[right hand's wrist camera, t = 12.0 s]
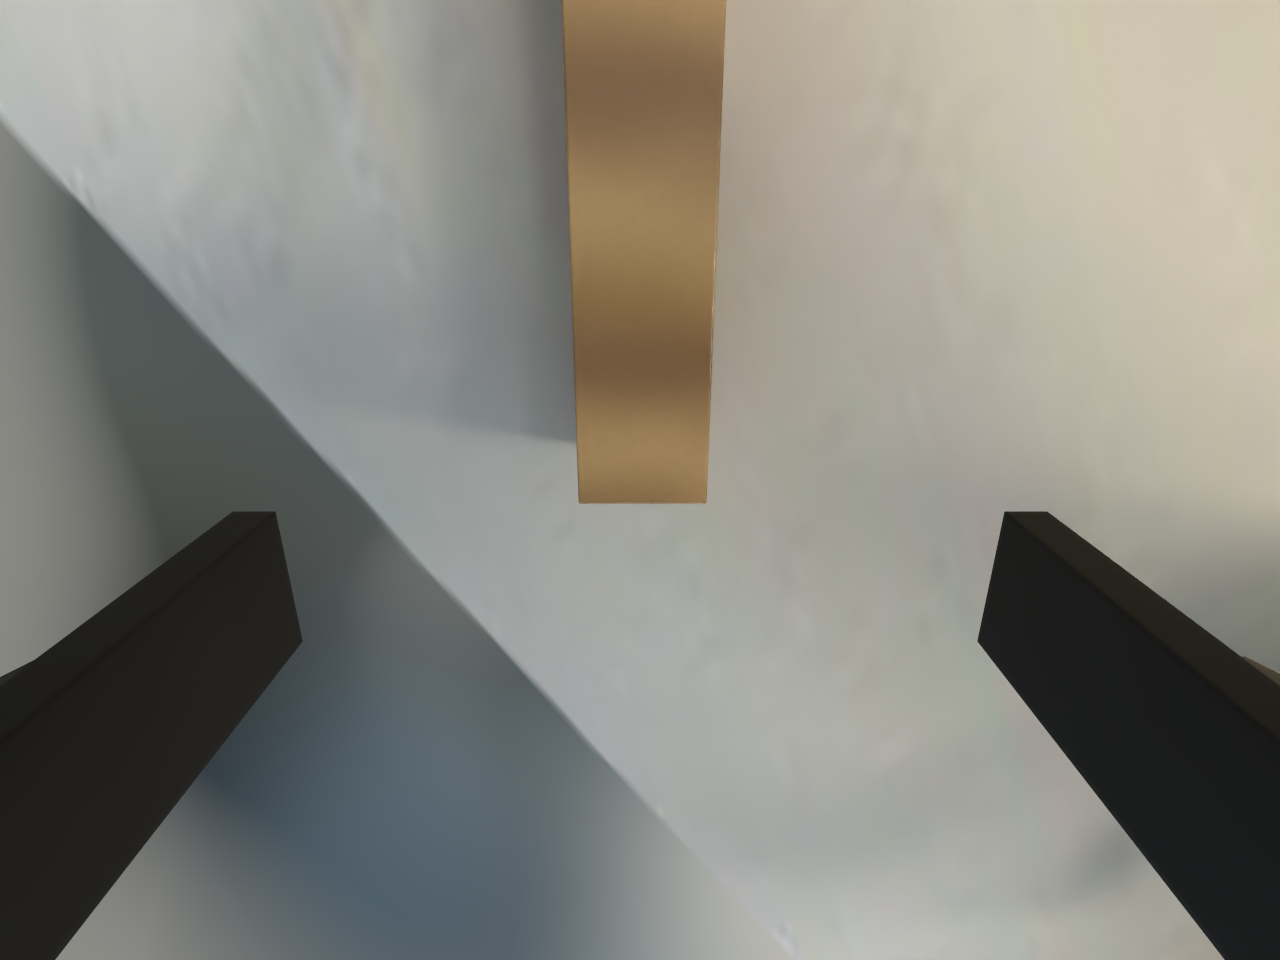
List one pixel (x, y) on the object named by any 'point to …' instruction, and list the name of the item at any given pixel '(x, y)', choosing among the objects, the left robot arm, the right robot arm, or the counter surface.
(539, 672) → the counter surface
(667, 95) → the post
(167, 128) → the counter surface
